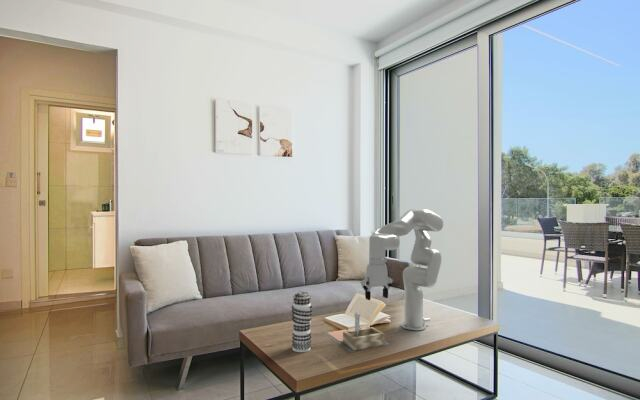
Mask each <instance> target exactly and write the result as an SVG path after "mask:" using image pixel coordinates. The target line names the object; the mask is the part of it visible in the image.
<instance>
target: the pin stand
mask: <svg viewBox="0 0 640 400" xmlns="http://www.w3.org/2000/svg"><path fill="white" fill-rule="evenodd" d="M353 317H354V328H355V329H352V330H355V337H359V329H362V328H363V327H361V328H359V327H360V318H361V314H360V313H359V312H355V313H354V316H353ZM344 331H350V330H346V329H341V330H334V331H328V332H323V335H325V336H327V337H328V338H330V339H331V340H332V341H334V342H335V343H337V344H338V345H340V347H342V348H344V349H345V350H347V351H348V352H349V353H354V352H359V351H363V350H368V349H373V348H377V347H378V348H380V347H383V346H389V345H391V343H389V342H387V341H385V340H384V345H379V346H373V347H368V348H363V349H358V350H353V349H352V348H350V347H349V346H347V345H346V344H344V343H343V332H344Z"/></svg>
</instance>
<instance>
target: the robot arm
mask: <svg viewBox="0 0 640 400" xmlns="http://www.w3.org/2000/svg"><path fill="white" fill-rule="evenodd" d="M443 227H444V220H443V218H442V217H441V215H439V214H436V212H433V211H431V210H429V209H425V208H424V209H421V208H410V209H407V211H405V213H403V214H402V215H400V217H399V218H398V219H397V220H395V221H392V222H390V223H387V224H384V225H382V226H381V227H379V228H377V229H376V230H375V231H374V232H373V233H372V234H371V235H369V239H368V241H369V245H368V247H369V250H368V252H369V253H368V256H369V258H368V264H367V265H366V269H365V276H364V279H363V280H361V281H360V282H359V283H360V285H361V287H362V289H363V290H364V291H365V292H364V296H365V300H368V301H370V300H371V296H372V295H371V289H372V288H376V287H378V288H379V287H383V288H382V298H385V299H388V298H389V290H390V287H392V283H393V281H394V280H393V278H391V277H389V276H388V275H389V274H388V273H389V272H388V267H387V264H386V262H388V259H387V258H386V251H394V250H396V249H398V248H399V246H400V238H399V237H403V236H406V235H408V234H409V233H411V231H412V230H413V232H414V235H415V240H414V244H413V247H412V250H411V251H412V252H411V254H410V261H411V264H413V266H412V265H411V266H407V267H405V268H404V269H403V271H402V280H403V288H404V302H403V303H404V305H403V306H404V310H403V311H404V312H403V313H404V317H403V318H404V319H403V321H402V322H401V325H400V327H402V328H403V329H405V330H410V331H423V330H425V329H427V325H426V323H429V322H430V321H431V320H430V317H424V292H423V289H422V288H427V289H429V288H430V289H431V288H433V287H434V286H435V285H436V283H437V280H438V275H439V272H440V269H441V265H442V254H441V252H440V251H439V250H437V249H435V248H431V246H432V238H431V237H430V235H429V233H428V232H433V233H434V232H436V233H437V232H440V231H441V230H442V229H443ZM414 265H415V266H414ZM420 266H421V267H420Z"/></svg>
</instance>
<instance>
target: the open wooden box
mask: <svg viewBox="0 0 640 400" xmlns="http://www.w3.org/2000/svg"><path fill="white" fill-rule="evenodd" d="M361 328H362V329H359V337H355V330H350V331H344V332H343V343H344V344H346V345H347V346H349V347H350V348H352V349H353V350H358V349H363V348H368V347H373V346H379V345H384V341H385V332H382V331H381V330H379V329H377V328H375V327H373V326H369V327H364V328H363V327H361ZM384 346H385V345H384ZM379 347H380V346H379Z"/></svg>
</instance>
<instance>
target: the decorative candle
mask: <svg viewBox="0 0 640 400" xmlns="http://www.w3.org/2000/svg"><path fill="white" fill-rule="evenodd" d="M292 297H293V303H292V305H291V313H292V314H291V316H292V318H291V320H292V322H291V323H292V325H293V326H292V328H293V329H292V334H291V335H292V337H291V338H292V341H291V342H292V344H291V347H292V349H291V350H292V351H294V352H297V353H306V352H309V351H311V350H312V347H311V346H312V340H311V339H312V332H311V331H312V330H311V323H312V318H311V316H312V315H313V313H312V312H313V310H312V308H313V305H312V304H311V297H312V296H311V294H309V292H308V291H297V292H296V293H295V294H294V295H292Z"/></svg>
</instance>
